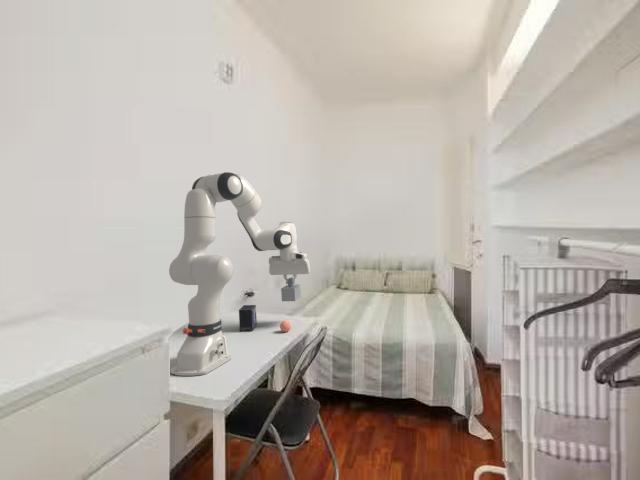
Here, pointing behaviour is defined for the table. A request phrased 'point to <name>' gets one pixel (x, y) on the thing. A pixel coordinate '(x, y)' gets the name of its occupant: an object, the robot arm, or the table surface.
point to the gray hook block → (291, 291)
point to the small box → (247, 318)
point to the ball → (285, 326)
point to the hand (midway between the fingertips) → (290, 283)
